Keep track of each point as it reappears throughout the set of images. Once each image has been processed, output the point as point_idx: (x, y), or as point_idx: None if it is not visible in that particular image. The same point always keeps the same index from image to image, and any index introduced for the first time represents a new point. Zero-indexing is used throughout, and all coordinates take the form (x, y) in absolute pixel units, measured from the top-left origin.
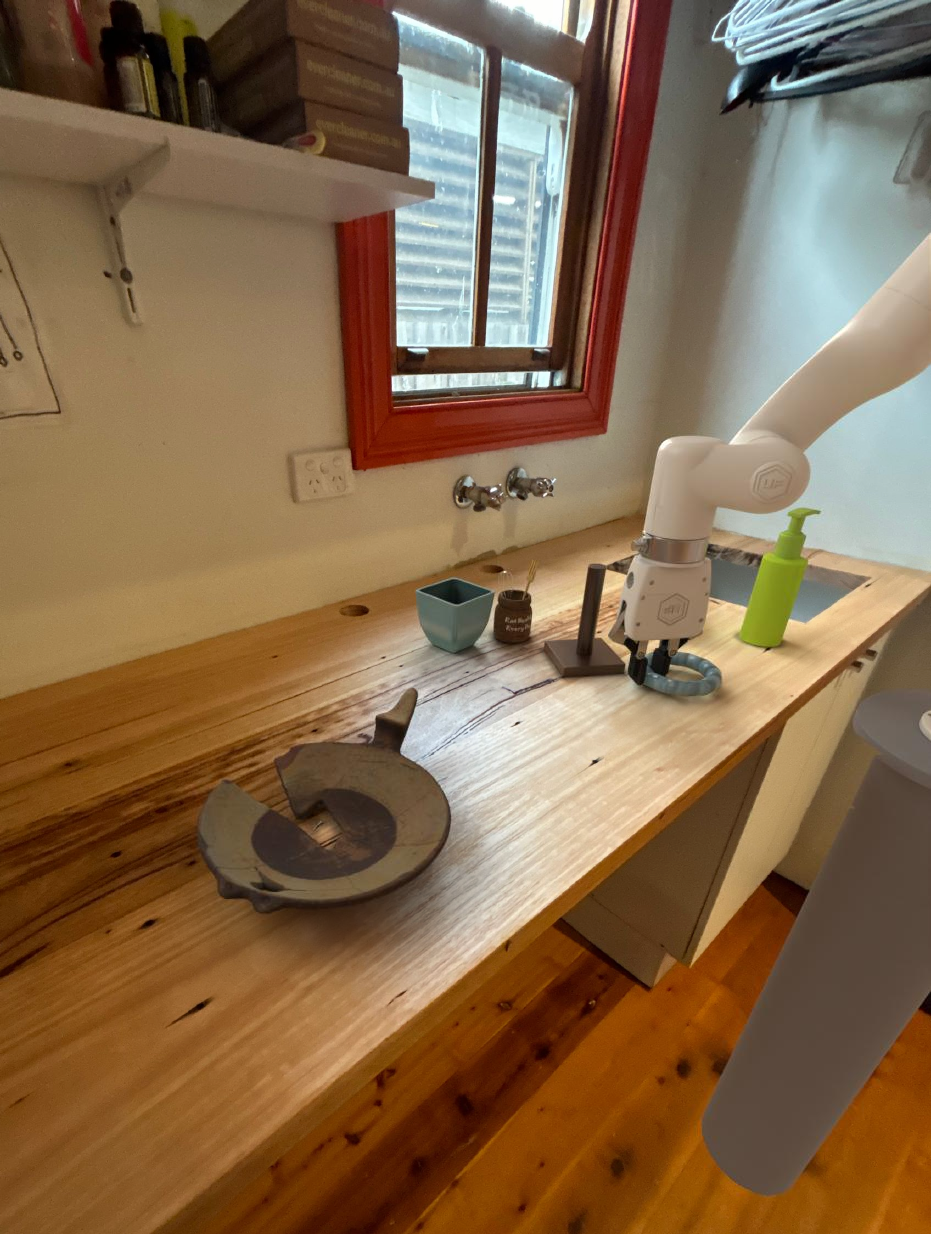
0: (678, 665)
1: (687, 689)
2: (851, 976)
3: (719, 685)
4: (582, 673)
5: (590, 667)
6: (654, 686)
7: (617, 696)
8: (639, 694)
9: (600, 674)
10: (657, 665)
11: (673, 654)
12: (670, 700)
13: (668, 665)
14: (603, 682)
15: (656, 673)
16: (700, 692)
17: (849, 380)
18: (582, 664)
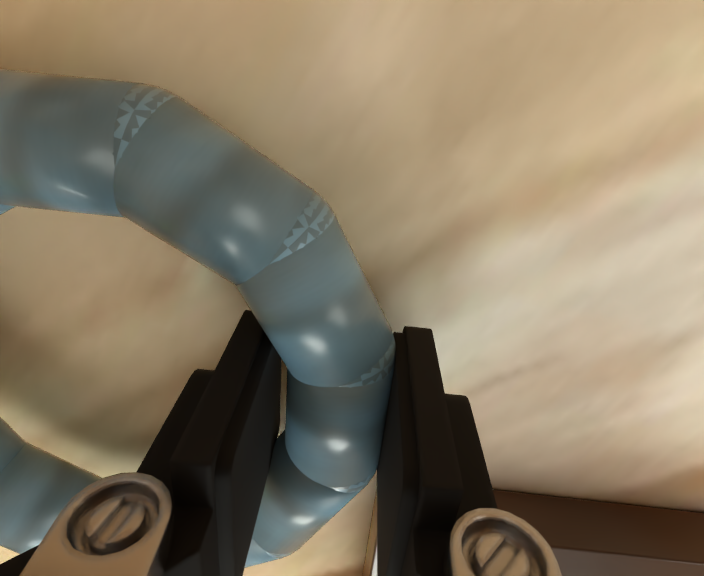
0: (62, 460)
1: (149, 100)
2: None
3: None
4: (622, 515)
5: (597, 543)
6: (358, 267)
7: (586, 282)
8: (432, 272)
9: (513, 492)
10: (259, 443)
11: (110, 498)
12: (273, 156)
13: (179, 417)
14: (549, 429)
15: (271, 392)
16: (40, 74)
17: None
18: (630, 574)
